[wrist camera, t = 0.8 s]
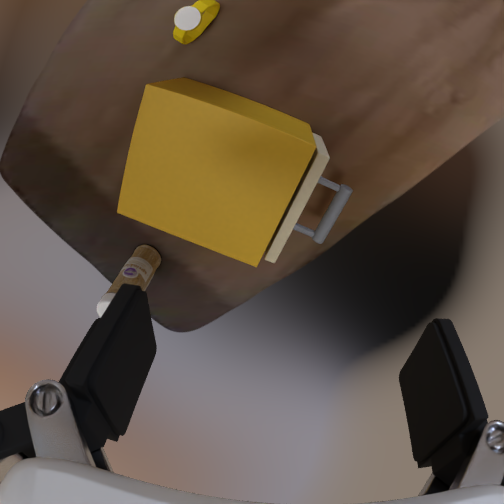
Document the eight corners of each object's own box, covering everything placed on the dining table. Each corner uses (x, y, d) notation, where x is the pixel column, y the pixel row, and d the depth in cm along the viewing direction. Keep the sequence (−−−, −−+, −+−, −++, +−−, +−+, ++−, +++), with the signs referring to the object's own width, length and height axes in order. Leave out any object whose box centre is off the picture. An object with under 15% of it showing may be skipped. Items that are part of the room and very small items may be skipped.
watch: (210, -2, 27) (196, -12, 22) (229, 10, 28) (218, 1, 23) (178, 36, 30) (159, 33, 25) (196, 48, 31) (179, 46, 26)
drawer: (355, 153, 35) (372, 178, 28) (309, 236, 42) (312, 278, 34) (202, 89, 33) (177, 97, 25) (172, 182, 40) (145, 213, 32)
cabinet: (309, 124, 35) (316, 146, 26) (264, 219, 42) (256, 267, 33) (183, 77, 33) (146, 83, 24) (153, 176, 40) (116, 212, 32)
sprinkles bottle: (158, 243, 46) (120, 303, 35) (164, 268, 49) (132, 330, 38) (131, 243, 47) (90, 301, 36) (138, 267, 49) (102, 327, 38)
